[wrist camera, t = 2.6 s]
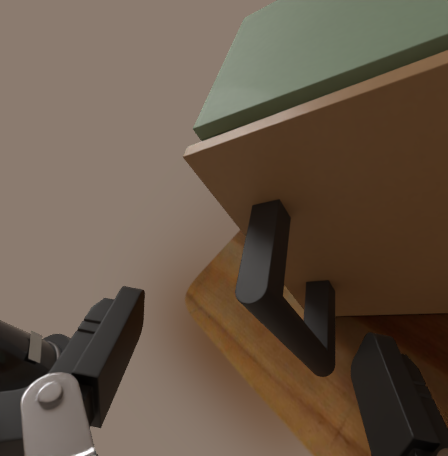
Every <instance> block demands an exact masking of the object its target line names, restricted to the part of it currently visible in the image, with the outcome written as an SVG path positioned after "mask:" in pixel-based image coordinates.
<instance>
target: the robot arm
mask: <svg viewBox="0 0 448 456" xmlns="http://www.w3.org/2000/svg"><path fill="white" fill-rule="evenodd" d="M144 298H145V292H144V290H141V289H136V288H131V287H126V286H123V287H122V288H121V290H120V291H119V293H118V294H117V296H116V298H115V299H114V300H113V299H108V298H104V299H103V300H101V301H100V302H98V303H97V304H96V305H94V306H93V307H92V308H91V309H90V311H89V313H88V314H87V315H86V317H85V319H84V321H82V323H81V324H80V326H79V327H78V330H77V331H76V332H75V334H74V335H73V337H72V338H71V340H70V341H69V343H68V344H67V346H66V347H65V349H64V350H63V352H62V350H61V348H60V347H59V346H58V345H56V344H54V343H52V342H49V341H45V340H43V339H42V336H41V335H39V334H37V333H35V332H33V331H31V334H30V333H28V332H25V331H23V330H21V329H19V328H16V327H14V326H12V325H10V324H7V323H5V322H3V321H1V320H0V456H98V454H96V451H95V448H94V444H93V440H92V436H91V432H90V426H93V427H98V428H101V426H102V424H103V421H104V419H105V417H106V415H107V412H108V410H109V408H110V405H111V403H112V401H113V398H114V396H115V394H116V391H117V389H118V387H119V384H120V382H121V380H122V377H123V375H124V373H125V370H126V368H127V366H128V363H129V361H130V359H131V356H132V354H133V352H134V349H135V347H136V345H137V342H138V340H139V337H140V335H141V331H142V327H143V320H144ZM351 379H352V383H353V387H354V390H355V394H356V398H357V401H358V405H359V409H360V413H361V416H362V420H363V424H364V428H365V431H366V435H367V439H368V443H369V446H370V450H371V454H372V456H448V429H447V427H446V425H445V422H444V420H443V418H442V416H441V414H440V412H439V410H438V408H437V406H436V404H435V402H434V400H433V399H432V398H431V397H432V396H431V394H430V392H429V389H428V387H426V386H425V384H426V383H425V381H424V379H423V377H422V375H421V373H420V371H419V369H418V368H417V367H416V365H415V364H414V363H413V362H412V361H411V360H410V359H409V357H408V356H407V355H404V354H401V353H400V351H399V349H398V347H397V344H396V342H395V340H394V339H393V338H392V337H391V336H386V335H381V334H376V333H371V332H369V333H367V334H366V336H365V337H364V339H363V341H362V343H361V345H360V347H359V349H358V351H357V353H356V355H355V357H354V359H353V361H352V364H351Z"/></svg>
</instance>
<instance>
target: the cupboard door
mask: <svg viewBox="0 0 448 456" xmlns="http://www.w3.org/2000/svg"><path fill="white" fill-rule="evenodd" d="M183 158H184V159H185V160H186V162H187V163H188V164H189V165H190V167H191V168H192V169H193V170H194V172H195V173H196V174H197V175H198V177H199V178H200V179H201V180H202V182H203V183H204V184H205V186H206V187H207V188H208V189H209V191H210V192H211V193H212V194H213V196H214V197H215V198H216V199H217V201H218V202H219V203H220V204H221V206H222V207H223V208H224V209H225V211H226V212H227V213H228V214H229V216H230V217H231V218H232V219H233V221H234V222H235V223H236V225H237V226H238V227H239V228H240V230H241V231H242V232H243V233H244V235H245V236H246V239H245V244H244V250H243V255H242V260H241V265H240V270H239V275H238V280H237V285H236V290H235V293H236V297H237V299H238V301H239V302H240V303H241V304H243V305H244V306H245V307H246V308H247V309H248V310H249V311H250V312H251V313H252V314H253V315H254V316H255V317H256V318H257V319H258V320H259V321H260V322H261V323H262V324H263V325H264V326H265V327H266V328H267V329H269V330H270V331H271V332H272V333H273V334H274V335H275V336H276V337H277V338H278V339H279V340H280V341H281V342H282V343H283V344H284V345H285V346H286V347H287V348H288V349H289V350H290V351H291V352H292V353H293V354H295V355H296V356H297V357H298V358H299V359H300V360H301V361H302V362H303V363H304V364H305V365H306V366H307V367H308V368H309V369H310V370H311V371H312V372H313V373H314V374H316V375H317V376H320V377H325V376H328V375H330V374H331V373H332V372H333V371H334V368H335V316H360V315H396V314H431V313H448V50H446V51H444V52H441V53H438V54H436V55H433V56H430V57H428V58H425V59H422V60H420V61H417V62H414V63H412V64H409V65H406V66H403V67H401V68H398V69H395V70H393V71H390V72H387V73H385V74H382V75H379V76H377V77H374V78H371V79H368V80H366V81H363V82H360V83H358V84H355V85H352V86H350V87H347V88H344V89H342V90H339V91H336V92H334V93H331V94H328V95H325V96H323V97H320V98H317V99H315V100H312V101H309V102H307V103H304V104H301V105H299V106H296V107H293V108H291V109H288V110H285V111H282V112H280V113H277V114H274V115H272V116H269V117H266V118H264V119H261V120H258V121H256V122H253V123H250V124H247V125H245V126H242V127H239V128H237V129H234V130H231V131H229V132H226V133H223V134H221V135H218V136H215V137H213V138H210V139H207V140H204V141H202V142H199V143H196V144H194V145H191V146H189V147H187V149H186V151H185V153H184V156H183ZM284 285H285V286H286V288H287V289H288V290H289V291H290V293H291V294H292V295H293V296H294V298H295V299H296V300H297V301H298V303H299V304H300V305H301V307H302V308H303V309H304V321H303V320H302V319H301V317H300V316H299V315H298V314H297V313H296V311H295V310H294V309H293V308H292V307H291V306H290V304H289V303H288V302H287V301H286V300H285V298H284V297H283V288H284Z"/></svg>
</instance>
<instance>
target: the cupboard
mask: <svg viewBox="0 0 448 456" xmlns="http://www.w3.org/2000/svg"><path fill="white" fill-rule="evenodd" d="M446 50H448V0H277V1H275V2H273V3H271V4H270V5H268V6H266V7H264V8H262V9H260V10H259V11H257V12H255V13H253V14H251V15H249V16H248V17H246V18H244V20H243V22H242V24H241V26H240V29H239V31H238V33H237V35H236V37H235V39H234V41H233V44H232V46H231V48H230V50H229V52H228V54H227V56H226V59H225V61H224V63H223V65H222V67H221V69H220V72H219V74H218V76H217V78H216V80H215V82H214V84H213V87H212V89H211V91H210V93H209V95H208V97H207V99H206V102H205V104H204V106H203V108H202V110H201V113H200V115H199V117H198V119H197V121H196V123H195V126H194V127H193V130H194V131H195V133H196V134H197V135H198V137H199V138H200V140H202V141H204V140H207V139H210V138H213V137H215V136H218V135H221V134H223V133H226V132H229V131H231V130H234V129H237V128H239V127H242V126H245V125H247V124H250V123H253V122H256V121H258V120H261V119H264V118H266V117H269V116H272V115H274V114H277V113H280V112H282V111H285V110H288V109H291V108H293V107H296V106H299V105H301V104H304V103H307V102H309V101H312V100H315V99H317V98H320V97H323V96H325V95H328V94H331V93H334V92H336V91H339V90H342V89H344V88H347V87H350V86H352V85H355V84H358V83H360V82H363V81H366V80H368V79H371V78H374V77H377V76H379V75H382V74H385V73H387V72H390V71H393V70H395V69H398V68H401V67H403V66H406V65H409V64H412V63H414V62H417V61H420V60H422V59H425V58H428V57H430V56H433V55H436V54H438V53H441V52H444V51H446Z"/></svg>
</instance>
